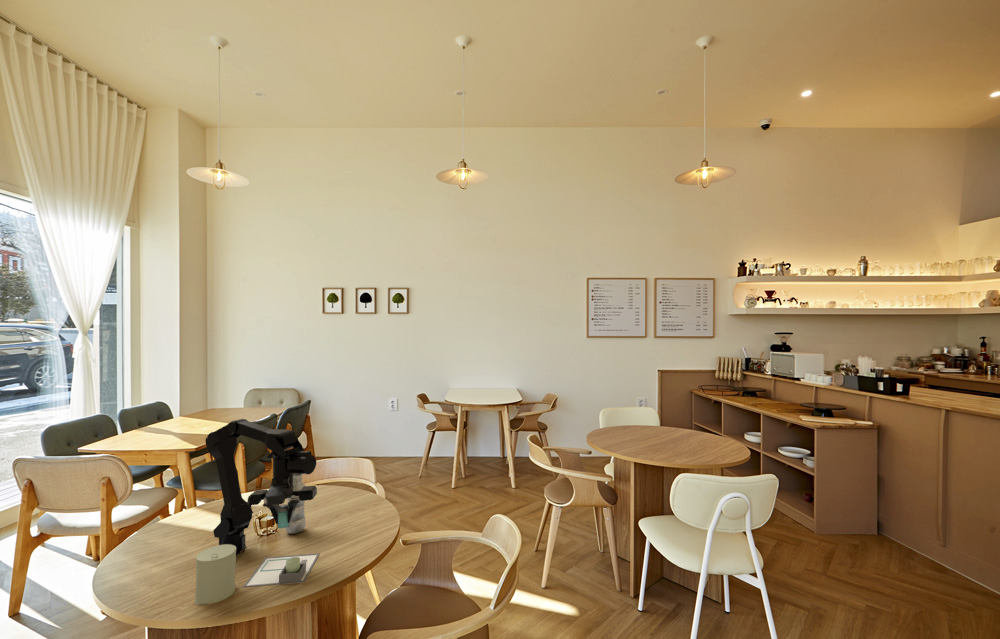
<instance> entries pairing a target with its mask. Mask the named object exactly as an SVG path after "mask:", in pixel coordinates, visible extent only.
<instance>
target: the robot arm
mask: <svg viewBox="0 0 1000 639" xmlns="http://www.w3.org/2000/svg"><path fill="white" fill-rule="evenodd" d="M241 436H243V437H245V438H248V439H251V440H254V441H257V442H259V443H262V444H263V445H264V446H265V448H266V449H268V450H269V451H271V452H269V454H268V455H267V456H266V458H267V459H272V478H271V481H270V482H271V483H270V487H269V488H267V489H257V490H256V489H255V490H254V491H253V492H252V493H251V494H249V495H248V497H247V501H246V500H245V499H244V498H243V496H242V491H241V485H240V482H239V481H240V480H239V476H238V471H237V466H236V465H237V464H236V461H235V451H236V450H237V447H238V439H239V438H240V437H241ZM205 446H206V449H207V451H208V454H209V455H210V456H212V457H213V459H215V462H216V467H217V472H218V478H219V482H220V484H219V485H220V489H221V494H222V498H223V504H224V505H223V506H222V509H221V511H220V514H219V515H220V516H219V517H220V522H219V524H218V525H217V526H216V527H214V529H213V531H212V532H213V535H214V536H213V537H214V538H218V545H224V544H230V545H234V546H236V556H238V555H240V553H241V552H243V550H244V549H245V548H246V547H247V545H246V536H247V535H246V534H245V529H246V530H247V529H248V528H249V526H250V522H251V521H252V519H253V514H254V511H253V508H252V506H257V505H259V504H260V503H261V502H262V501H263V504H262V507H264V508H265V507H266V508H268V509H269V510H270V512H271V515H272V517H273V519H274V522H275V524H276V525H278V506H280V505H284V503H285V502H286V500H287V498H290V499H291V500H290V501H289V502H288V501H287V505H288V506H289V509H288V523H290V521H291V518H292V516H293V513H294V510H295V507H296V505H297V504H298V503H299V502H300V501H311V500H312V501H313V500H314V498H315V497H316V495H318V488H317V487H316V485H305V486H304V487H303V488H302V489H301V490H297V491H293V489H294V485H293V476H294V474H302V475H311V474H312V473H313V472H314V471H315V470H316V467H317V460H316V457H315V456H314V455H313V454H312V451H311V450H306V451H305V449H304V447H303V445H302V444H301V442H300V440H299V439H298V436H297V435H296V432H295V431H294V430H292V429H280V428H278V429H275V428H270V427H267V426H265V425H260V424H258V423H255V422H252V421H249V420H248V419H246V418H240V419H235V420H231V421H230V422H228V423H227V424H226V425H224V426H222V427H220V428H219V429H216V430H215V431H211V432H210V433H209V434H208V435H207V437H205Z"/></svg>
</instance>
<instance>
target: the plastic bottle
mask: <svg viewBox="0 0 1000 639" xmlns="http://www.w3.org/2000/svg"><path fill="white" fill-rule="evenodd" d="M293 485H294V489H293V491H297V490H301V489H302V488H303V487H304V486H306V485H305V483H304V482H303V474H294V476H293ZM286 500H287V503H288V502H289V501H290V500H291V499H290V498H287V499H286ZM288 509H289V506H288ZM305 528H306V517H305V501H300V502H299V503H298V504H297V505H296V507H295V510H294V513H293V516H292V518H291V521H290V523H289V526H288V527H286V528H285V532H286V533H287V534H290V535H291V534H293V535H295V534H298V533H300V532H302V531H304V530H305Z"/></svg>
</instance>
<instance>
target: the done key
mask: <svg viewBox="0 0 1000 639" xmlns="http://www.w3.org/2000/svg"><path fill="white" fill-rule="evenodd" d="M299 571H300V558H299V557H293V558H290V559H288V560H287V561H286V574H288V573H297V572H299Z"/></svg>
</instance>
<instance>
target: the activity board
mask: <svg viewBox="0 0 1000 639" xmlns="http://www.w3.org/2000/svg"><path fill="white" fill-rule="evenodd" d="M319 555H320V553H307V554H306V553H305V554H292V555H279V556H268V557H267V556H266V557H265V558H264V559H263V560H262V561H261V563H260V564H259V565H258V567H257V568H256V569H255V571H254V572H253V573H252V574H251V576H250V577H249V578H248V580H247V581H246V582H245V583H244V585H243V586H242V588H251V587H263V586H264V587H265V586H276V585H277V586H278V585H288V584H289V585H290V584H302V583H303V584H304V583H305V582H306V580H307V579H308V576H309V574H310V572H311V570H312V569H313V567H314V565H315V563H316V561H317V560H318V559H319V558H318V557H319ZM293 557H299V558H300V571H299V572H297V573H288V574H286V561H287V560H288V559H290V558H293Z"/></svg>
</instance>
